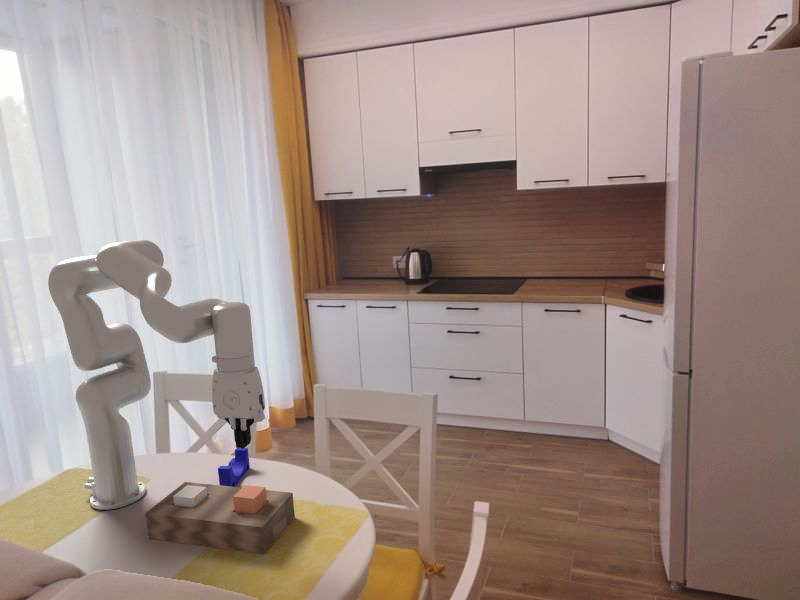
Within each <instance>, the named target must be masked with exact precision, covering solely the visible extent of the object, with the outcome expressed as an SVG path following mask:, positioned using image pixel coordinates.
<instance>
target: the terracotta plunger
mask: <svg viewBox="0 0 800 600" xmlns="http://www.w3.org/2000/svg"><path fill="white" fill-rule="evenodd" d="M241 488H242V489H241V490H239V491H238V492H237V493H236V494H235V495H234V496H233V501H234V510H235V512H237V513H246V514H255V515H256V514H257V513H258V512H259V511H260V510H261V509H262V508H263V507H264V506H265V505H266V504H267V497H266V490H267V489H266V486H260V485H259V486H256V485H247V484H245V485H244V486H242V487H241Z"/></svg>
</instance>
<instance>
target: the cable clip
mask: <svg viewBox="0 0 800 600" xmlns="http://www.w3.org/2000/svg"><path fill="white" fill-rule="evenodd" d="M249 457H250V456H249V448H248V447H245V448H244V449H243V448H236V449H235V450H234V457H233V458H232V459H230V461H228V465H219V467H218V468H217V472H218V473H217V474H218V482H219V484H218V485H221V486H231V487H237V484H239V483H240V481H241V480H242V478H243V477H244V476H245V474H247V472H248V471H249V470H250V468H251V467H250V465H251V464H250V458H249ZM240 479H241V480H240Z"/></svg>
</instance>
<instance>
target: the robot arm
mask: <svg viewBox="0 0 800 600" xmlns="http://www.w3.org/2000/svg"><path fill="white" fill-rule="evenodd" d="M164 263H165V257H164V254H163V252H162V249H161V248H160V247H159V246H158V245H157V244H156V243H155V242H153V241H150V240H147V239H138V240H137V239H135V240H127V241H121V242H120V241H119V242H114V243H109V244H107V245H104V246H103V247H102V248H101V249H100V250H99V251H98V252H97V254H96V255H95V254H94V255H86V256H80V257H79V256H78V257H73V258H68V259H66V260H63V261H60V262H59V263H57V264H55V265H54V266H53V268H51V270H50V272H49V275H48V279H47V281H48V282H47V283H48V286H47V287H48V291H49V295H50V296H51V299H52V302H53V303H54V305H55V307H56V308H57V311H58V313H59V315H60V317H61V320H62V323H63V324H62V325H63V327H64V331H65V335H66V338H67V342H68V346H69V350H70V353H71V356H72V359H73V362H74V364H75V366H76V367H77V368H78V369H79V370H81V371H83V372H91V371H96V370H100V369H103V368H106V367H110V366H112V365H116V367H117V368H115V369H112V370H108V371H105V372H103V373H100V374H96V375H94V376H91V377H89V378H86V379H85V380H84V381H83V382H81V383H80V384H79V386H78V387H77V388H76V391H75V402H76V404H77V408H78V410H79V412H80V415H81V417H82V421H83V424H84V428H85V434H86V439H87V444H88V450H89V451H88V452H89V457H90V458H89V459H90V463H91V469H92V475H93V476H90V477H88V478H87V482H86V483H85V484H84V489H86V490H91V491H92V495H91V496H90V498H89V504H90V505H89V506H91V507H92V508H93V509H96V510H103V511H104V510H106V511H107V510H114V509H115V510H116V509H120V508H122V507H126V506H129V505H131V504H133V503H135V502H137V501H139V500H140V499H141V498H142V497H143V496H144V495H145V494H146V491H147V488H146V485H145V483H143V482H142V481H139V480H138V475H137V466H136V459H135V453H134V446H133V439H132V438H133V437H132V433H131V432H132V431H131V427H130V424H129V422H128V420H127V419H126V418H125V417H124V416H123V415H122V414H121V413H120V410H121V409H123V408H125V407H127V406H129V405H132V404H134V403H137V402H139V401H141V400H144V399H145V398H146V397H147V396H148V395H149V394H150V391H151V388H152V382H151V376H150V371H149V367H148V363H147V360H146V359H147V358H146V355H145V351H144V348H143V343H142V341H141V338H140V335H139V334H138V332H137V331H136V330H135V328H133V326H131V325H130V324H127V323H125V322H120V323H119V322H117V323H112V324H110V325H107V324H106V322H105V319H104V314H103V310H102V308H101V307H100V305H99V304H97V302H96V301H95V300H94V299H93V298H91V297H90V296H88V294H92V293H96V292H97V293H98V292H102V291H108V290H114V289H118V288H121V289H123V290H124V291H126V292H128V293H129V295H132V297H135V298H136V299H138V300H139V307H140V312H141V314H142V316H143V318H144V320H145V323H146V324H147V325H149V327H150V328H152V329H153V331H155V332H158V334H160V335H161V336H163V337H164V338H166V339H168V340H169V341H171V342H174V343H178V344H188V343H192V342H194V341H197V340H200V339H203V338H207V337H209V336H213V338H214V350H215V355H212V357H211V361H212V363H215V364H216V368H215V369H213V375H212V383H211V384H212V385H211V403H212V412H213V415H215V416H216V417H217V418H218V419H221V420H224V421H225V422H226V423H228V425H230V429H231V430H232V431H233V435H234V437H233V438H234V442H235V447H236V448H243V449H244V448H247V446H249V445H250V444H251V442H252V433H251V432H252V431H251V427H252V426H253V425H254V424H255V423H260V422H263V421H264V420H265V419H266V416H265V413H264V411H265V407H266V401H265V392H264V387H263V382H262V378H261V374H260V371H259V368H258V366H256V362H255V352H254V338H253V328H252V317H251V309H250V306H249V305H248V304H246V303H245V302H241V301H240V302H239V301H233V302H232V301H230V302H229V301H225V300H221V299H218V298H206V299H203V300H199V301H195V302H194V301H193V302H190V303H187V304H183V305H180V306H178V305H176V304H174V303H172V302H171V301H169V300H167V299H166V298H165V297H166V296H167V295H168V293H169V291H170V289H171V286H172V281H173V280H172V275H171V273H170V272H169V271H168V270H167V269H166V268H164Z"/></svg>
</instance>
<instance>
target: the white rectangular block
mask: <svg viewBox="0 0 800 600" xmlns="http://www.w3.org/2000/svg"><path fill="white" fill-rule="evenodd" d="M173 497H174V505H176V506H185V507H194V508H195V507H196V506H197V505H198V504H199V503H200V502H201V501H203V500H204V499H205V498H206V497H207V489H206V487H201V486H191V485H187V486H185V487H184V488H183V489H182V490H180V491H179V492H178V493H177V494H175V495H174V496H173Z"/></svg>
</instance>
